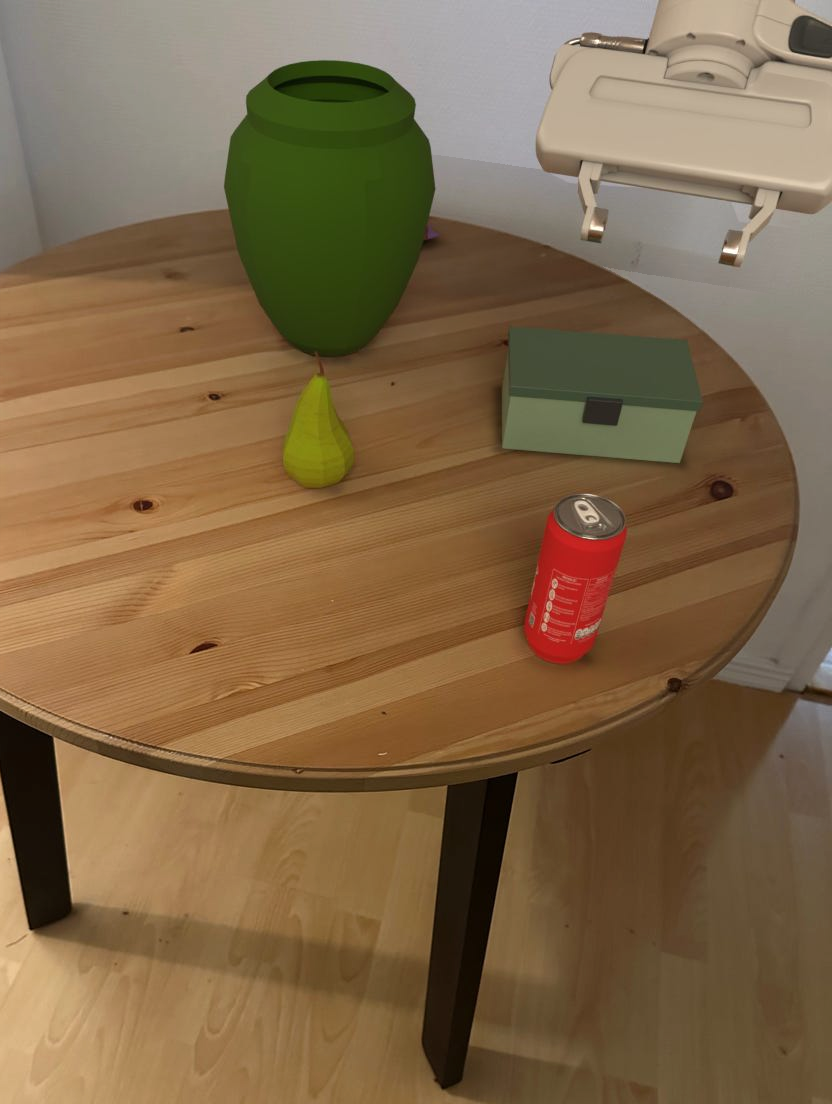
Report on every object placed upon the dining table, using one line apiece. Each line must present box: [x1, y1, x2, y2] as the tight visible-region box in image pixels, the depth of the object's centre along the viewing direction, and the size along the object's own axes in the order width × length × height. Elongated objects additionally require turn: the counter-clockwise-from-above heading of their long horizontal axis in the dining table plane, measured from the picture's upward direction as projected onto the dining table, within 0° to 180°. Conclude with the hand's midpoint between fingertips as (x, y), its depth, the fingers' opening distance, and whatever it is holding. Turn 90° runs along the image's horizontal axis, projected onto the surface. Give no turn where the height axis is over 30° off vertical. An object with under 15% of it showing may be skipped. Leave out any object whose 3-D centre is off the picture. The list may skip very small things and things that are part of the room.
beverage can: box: [523, 492, 628, 665], centre depth 69 cm, size 5×5×12 cm
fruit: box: [282, 351, 355, 489], centre depth 81 cm, size 6×6×12 cm
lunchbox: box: [501, 326, 704, 464], centre depth 90 cm, size 16×11×7 cm
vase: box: [223, 59, 436, 357], centre depth 93 cm, size 20×20×24 cm
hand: (659, 250), depth 67 cm, fingers open, 8 cm apart
